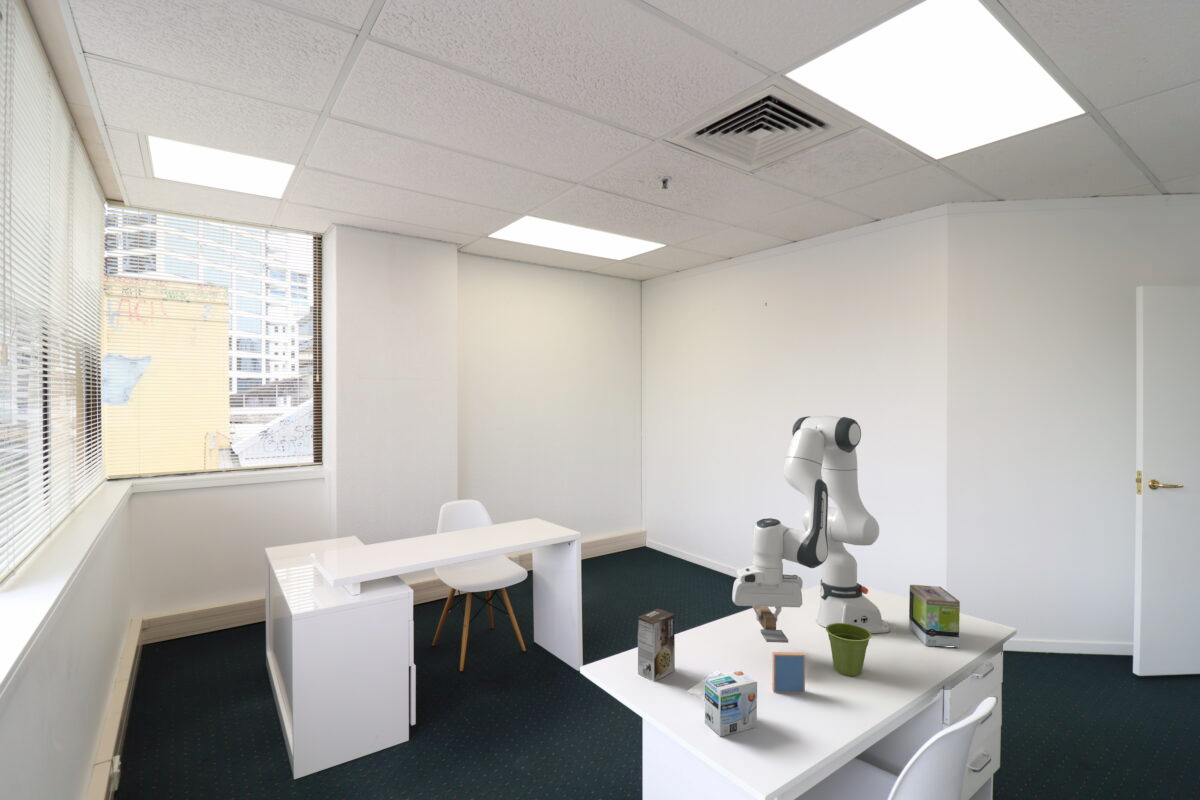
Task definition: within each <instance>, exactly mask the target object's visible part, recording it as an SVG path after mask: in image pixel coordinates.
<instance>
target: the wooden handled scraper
mask: <svg viewBox="0 0 1200 800" xmlns="http://www.w3.org/2000/svg"><path fill="white" fill-rule="evenodd" d="M757 611H758V613H761V614H762V621H758V622H759V624H760V625H761V627H762V628H761V629H760V634H761V635H762V637H763V639H764V641H765V642H766V643H779V644H780V643H781V644H782V643H785V644H787V643H788V644H789V639H788V638H787V636H786V634H785V633H784V631H783V630H782V629H777V621H776V618H775V616H774V615H773V614H774V612H772V611H771V609H770V607H765V606H759V610H757Z"/></svg>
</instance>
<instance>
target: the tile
mask: <svg viewBox="0 0 1200 800" xmlns="http://www.w3.org/2000/svg"><path fill="white" fill-rule="evenodd" d="M771 657H772V658H771V660H772V661H771V662H772V664H771V665H772V668H771V669H772V670H771V671H772V673H771V675H772V676H771V677H772V681H771V682H772V683H771V685H772V687H771V688H772V692H773V694H774V693H775V692H777V693H778V692H779V693H778V694H805V693H806V654H805V653H804V652H801V651H799V652H798V651H797V652H796V651H792V652H791V651H772V656H771ZM788 692H789V693H788ZM777 693H775V694H777Z"/></svg>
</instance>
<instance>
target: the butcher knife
mask: <svg viewBox="0 0 1200 800" xmlns="http://www.w3.org/2000/svg"><path fill="white" fill-rule="evenodd" d="M720 674H723V673H722V672H721V671H718V670H716V671H714V672H713V673H711V674H710V675H709V676H708V677H711V676H715V675H720ZM686 693H687V694H688V693H689V695H691V696H694V697H696V698H697V699H698V698H699V699H701V700H703V699H704V698H705V678H704V679H703V680H700V681H699V682H698V683H696V684H695V685H694V686H692V687H691V688H690V689H688V690H687V691H686Z"/></svg>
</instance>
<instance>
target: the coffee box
mask: <svg viewBox="0 0 1200 800" xmlns="http://www.w3.org/2000/svg"><path fill="white" fill-rule="evenodd" d="M675 637H676V636H675V614H674V613H671V612H669V611H666V610H664V609H661V608H655V609H653V610H650V611H648V612H646V613H643V614H641V615H639V616H638V617H637V675H639V676H641V675H642V677H643V676H644V678H646V679H648V680H650V681H652V680H653V681H652V682H657V681H658V680H660V679H662V678H663V676H664V677H665V676H667V675H669V674H671V673H672V672H675V671H676V670H675V668H676V667H675V666H676V665H675V664H676V663H675V661H676V660H675V657H676V655H675V653H676V652H675V651H676V650H675V648H676V647H675V646H676V645H675V644H676V643H675V641H676V640H675Z"/></svg>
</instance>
